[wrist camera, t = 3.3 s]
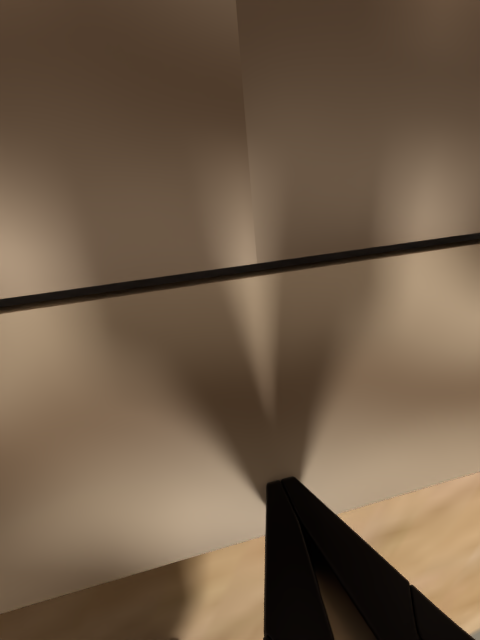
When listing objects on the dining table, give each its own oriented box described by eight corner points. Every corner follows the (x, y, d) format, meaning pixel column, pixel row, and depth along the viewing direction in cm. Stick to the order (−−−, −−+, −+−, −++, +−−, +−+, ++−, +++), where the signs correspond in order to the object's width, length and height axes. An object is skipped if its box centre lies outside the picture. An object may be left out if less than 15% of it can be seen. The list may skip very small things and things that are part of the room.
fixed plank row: (555, 213, 10) (623, 212, 8) (-246, 320, 6) (-376, 351, 5) (639, -105, 7) (760, -189, 6) (-650, -225, 4) (-1205, -524, 2)
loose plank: (526, 418, 12) (577, 442, 10) (-96, 585, 8) (-159, 661, 7) (552, 228, 10) (619, 223, 8) (-232, 340, 6) (-362, 367, 5)
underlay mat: (520, 400, 13) (530, 406, 13) (-110, 562, 9) (-122, 577, 9) (663, -97, 8) (687, -112, 7) (-753, -220, 4) (-855, -268, 3)
